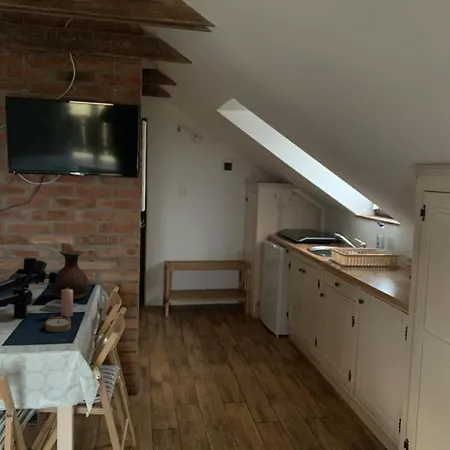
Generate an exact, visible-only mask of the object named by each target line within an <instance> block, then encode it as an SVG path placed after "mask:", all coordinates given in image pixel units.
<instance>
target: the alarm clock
mask: <svg viewBox="0 0 450 450" xmlns="http://www.w3.org/2000/svg"><path fill="white" fill-rule="evenodd" d="M71 324H72V320H71V318H70V317H68V316H66V315H64V316H61V315H59V316H56V315H51V316H49V317H48V318H47V320H46V321H45V330H46V331H47V332H50V333H51V332H52V333H61V332H67V331H69V330H71V328H72V326H71Z"/></svg>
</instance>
